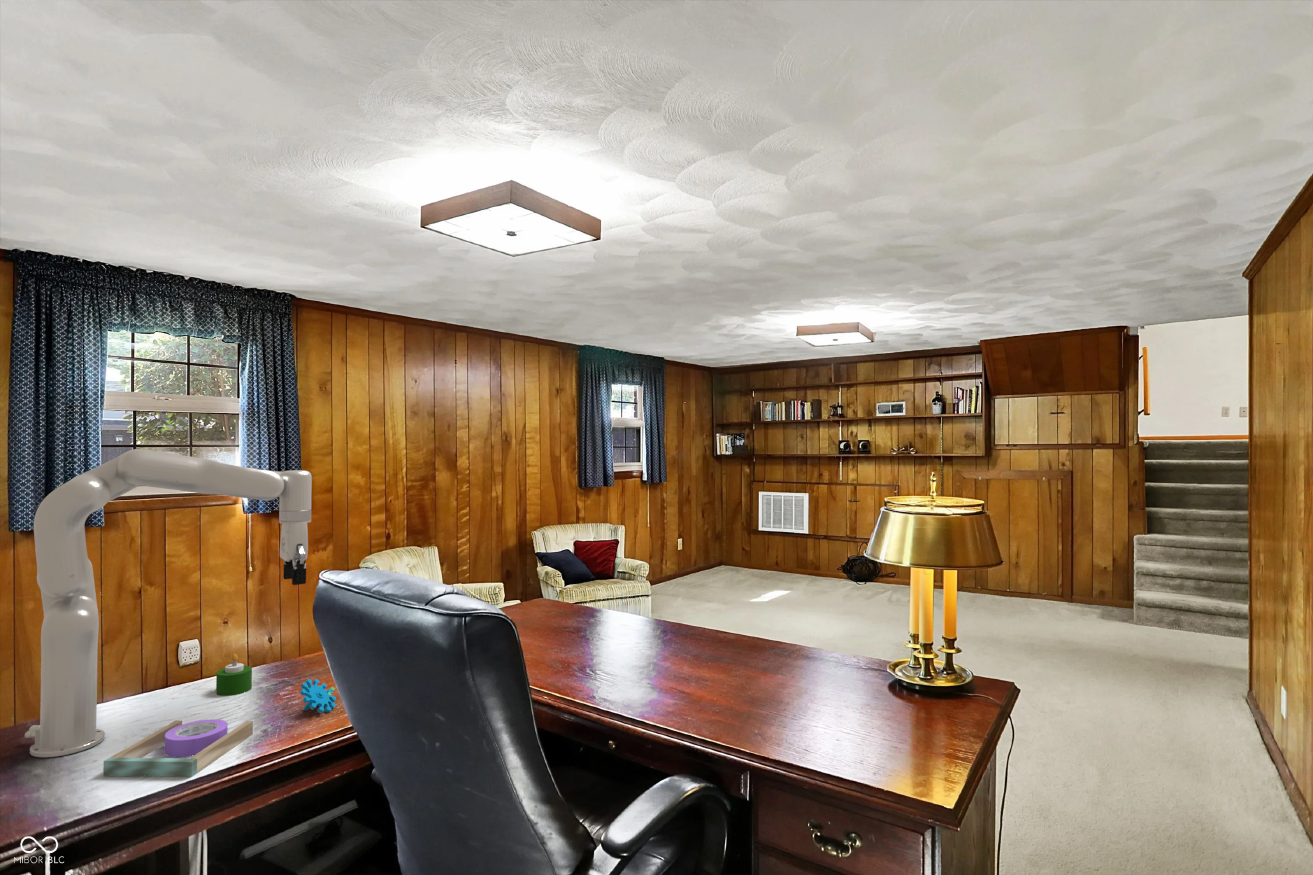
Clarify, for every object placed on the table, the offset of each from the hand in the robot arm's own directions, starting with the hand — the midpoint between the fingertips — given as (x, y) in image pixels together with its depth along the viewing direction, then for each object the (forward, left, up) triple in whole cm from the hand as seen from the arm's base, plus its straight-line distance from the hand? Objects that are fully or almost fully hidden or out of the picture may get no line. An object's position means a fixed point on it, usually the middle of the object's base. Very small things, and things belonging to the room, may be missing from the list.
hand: (294, 581), depth 180 cm
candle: (-19, +6, -31) cm, 37 cm away
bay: (-6, -32, -31) cm, 45 cm away
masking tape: (-6, -28, -32) cm, 43 cm away
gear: (+11, -7, -31) cm, 34 cm away
